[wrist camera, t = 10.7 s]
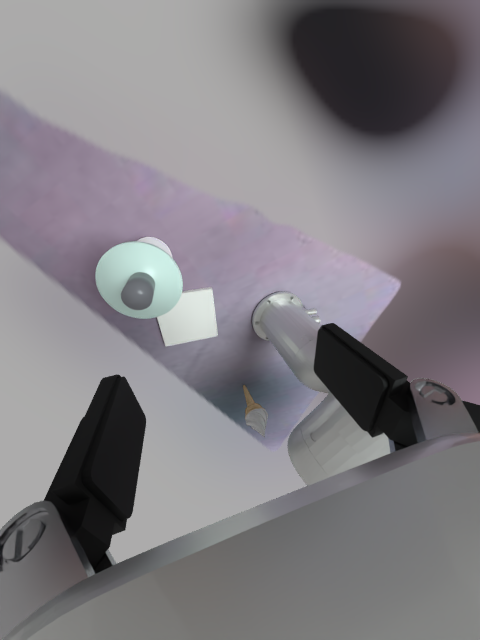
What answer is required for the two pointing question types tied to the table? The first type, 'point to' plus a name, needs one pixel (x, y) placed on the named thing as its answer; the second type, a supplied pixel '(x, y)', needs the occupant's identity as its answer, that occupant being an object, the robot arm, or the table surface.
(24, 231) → the table surface
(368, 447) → the robot arm
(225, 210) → the table surface
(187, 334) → the mat
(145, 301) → the lid
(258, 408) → the ice cream cone
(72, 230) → the table surface
